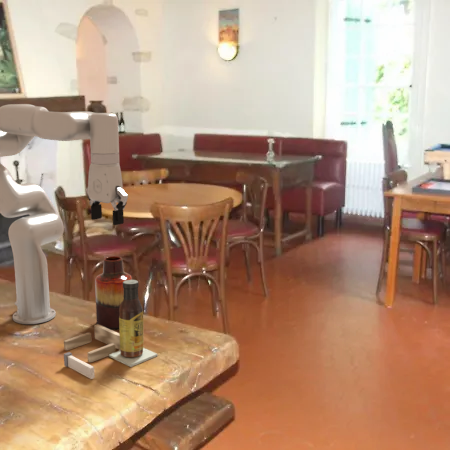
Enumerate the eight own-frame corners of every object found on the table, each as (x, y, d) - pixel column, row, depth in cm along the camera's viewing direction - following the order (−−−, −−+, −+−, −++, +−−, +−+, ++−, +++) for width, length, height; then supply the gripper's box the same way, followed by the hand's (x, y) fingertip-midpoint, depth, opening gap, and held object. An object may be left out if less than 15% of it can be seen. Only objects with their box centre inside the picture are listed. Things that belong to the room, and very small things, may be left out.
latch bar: (64, 365, 151) (63, 353, 151) (69, 363, 153) (69, 351, 152) (90, 379, 144) (89, 367, 144) (95, 377, 145) (95, 365, 145)
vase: (140, 321, 182) (139, 257, 177) (116, 333, 173) (113, 265, 168) (114, 314, 187) (111, 251, 183) (89, 325, 178) (86, 259, 174)
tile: (109, 356, 157) (108, 354, 157) (135, 346, 164) (135, 344, 164) (130, 367, 152) (130, 364, 151) (157, 356, 158) (157, 353, 158)
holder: (64, 349, 162) (63, 335, 161) (98, 337, 170) (97, 324, 169) (90, 362, 154) (89, 348, 153) (124, 349, 162) (124, 335, 161)
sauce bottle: (139, 360, 154) (137, 286, 150) (116, 357, 155) (113, 285, 151) (147, 349, 160) (145, 279, 156) (125, 347, 162) (123, 277, 157)
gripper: (74, 158, 164) (77, 219, 167) (113, 163, 152) (115, 228, 156) (97, 156, 169) (99, 215, 173) (136, 161, 158) (138, 224, 162)
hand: (107, 221), depth 165 cm, fingers open, 9 cm apart
